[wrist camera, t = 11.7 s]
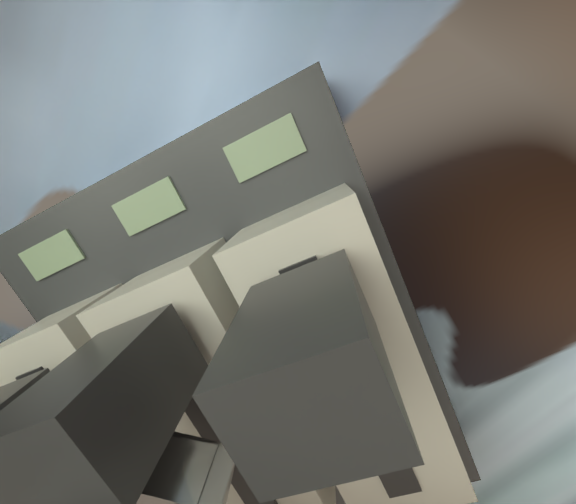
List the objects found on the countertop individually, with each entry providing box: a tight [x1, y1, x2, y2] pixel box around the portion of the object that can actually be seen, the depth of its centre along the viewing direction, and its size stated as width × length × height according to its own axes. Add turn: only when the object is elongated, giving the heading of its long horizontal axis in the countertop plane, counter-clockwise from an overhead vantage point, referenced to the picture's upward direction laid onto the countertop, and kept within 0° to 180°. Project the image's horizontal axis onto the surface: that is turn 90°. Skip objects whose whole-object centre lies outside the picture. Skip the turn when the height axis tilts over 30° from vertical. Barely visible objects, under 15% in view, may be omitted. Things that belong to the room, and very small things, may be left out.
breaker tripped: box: [0, 303, 208, 504], centre depth 7 cm, size 2×2×4 cm
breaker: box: [192, 249, 425, 503], centre depth 6 cm, size 2×2×4 cm
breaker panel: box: [0, 62, 481, 504], centre depth 12 cm, size 14×17×5 cm
